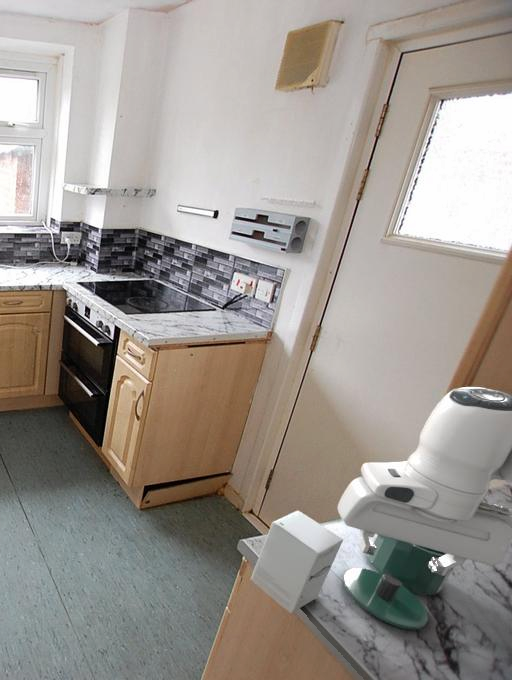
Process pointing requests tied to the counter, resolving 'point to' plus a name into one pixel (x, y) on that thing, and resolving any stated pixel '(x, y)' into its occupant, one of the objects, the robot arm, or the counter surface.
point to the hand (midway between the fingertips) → (399, 561)
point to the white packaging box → (295, 560)
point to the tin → (408, 564)
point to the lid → (385, 598)
